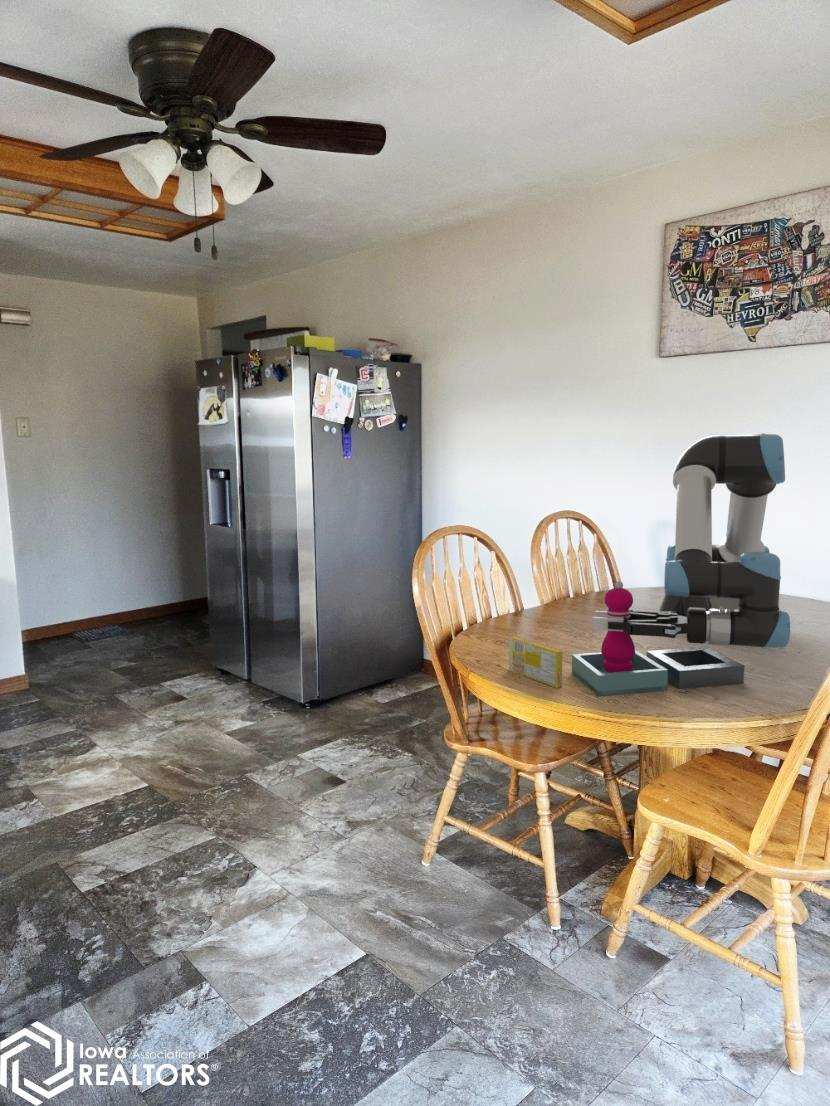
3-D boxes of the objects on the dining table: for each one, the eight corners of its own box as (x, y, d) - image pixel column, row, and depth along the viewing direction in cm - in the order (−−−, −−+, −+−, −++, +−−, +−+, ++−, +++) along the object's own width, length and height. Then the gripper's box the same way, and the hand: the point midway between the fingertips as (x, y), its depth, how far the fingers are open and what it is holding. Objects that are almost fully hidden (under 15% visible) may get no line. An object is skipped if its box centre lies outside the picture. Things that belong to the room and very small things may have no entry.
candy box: (563, 686, 156) (563, 650, 155) (556, 689, 155) (556, 652, 154) (514, 668, 170) (514, 634, 169) (507, 670, 169) (507, 636, 168)
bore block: (705, 662, 169) (706, 646, 169) (743, 683, 155) (744, 665, 154) (646, 667, 167) (646, 650, 167) (679, 688, 153) (679, 670, 152)
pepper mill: (639, 674, 154) (640, 584, 151) (605, 675, 154) (606, 585, 151) (629, 664, 161) (630, 577, 158) (597, 665, 162) (598, 578, 158)
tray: (634, 668, 167) (635, 649, 166) (667, 690, 152) (667, 669, 151) (571, 673, 165) (571, 654, 164) (598, 696, 150) (598, 675, 149)
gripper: (705, 599, 158) (597, 594, 166) (709, 619, 141) (589, 613, 149) (704, 632, 159) (597, 626, 167) (708, 655, 142) (589, 647, 150)
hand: (593, 620), depth 158 cm, fingers closed on pepper mill, 5 cm apart
